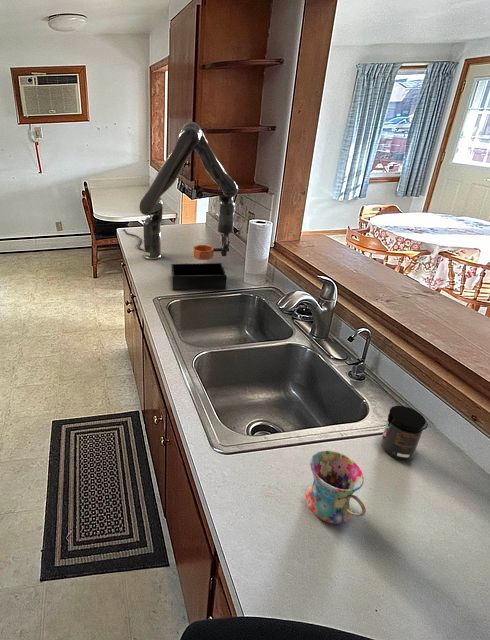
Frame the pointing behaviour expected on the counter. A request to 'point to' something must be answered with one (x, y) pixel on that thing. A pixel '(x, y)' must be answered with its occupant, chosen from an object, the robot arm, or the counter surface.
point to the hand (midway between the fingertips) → (223, 255)
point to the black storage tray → (198, 276)
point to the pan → (204, 252)
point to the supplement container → (402, 432)
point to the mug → (334, 486)
